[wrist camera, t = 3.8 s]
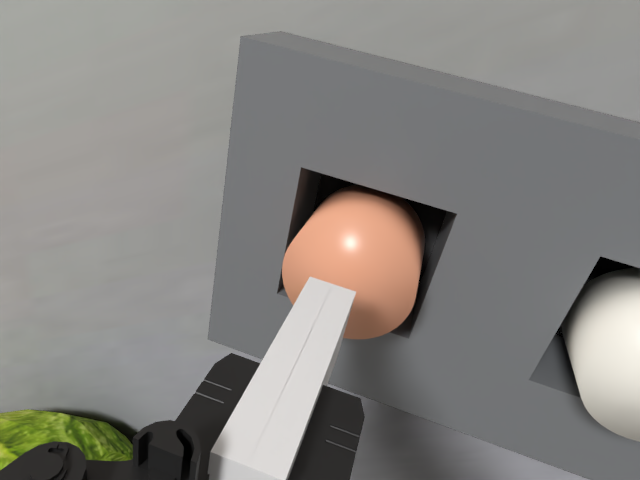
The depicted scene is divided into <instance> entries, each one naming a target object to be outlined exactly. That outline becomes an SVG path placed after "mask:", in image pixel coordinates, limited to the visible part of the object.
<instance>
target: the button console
mask: <svg viewBox="0 0 640 480" xmlns="http://www.w3.org/2000/svg"><path fill="white" fill-rule="evenodd" d="M321 173H322V174H325V175H329V176H332V177H335V178H339V179H342V180H345V181H349V182H352V183H356V184H359V185H362V186H366V187H369V188H372V189H376V190H379V191H382V192H386V193H389V194H393V195H396V196H399V197H403V198H406V199H409V200H413V201H416V202H419V203H423V204H426V205H429V206H433V207H436V208H440V209H443V210H446V211H447V213H446V215H445V218H444V221H443V223H442V226H441V229H440V231H439V234H438V237H437V239H436V242H435V245H434V248H433V250H432V253H431V256H430V258H429V261H428V264H427V266H426V269H425V272H424V274H423V277H422V280H421V283H420V285H419V288H418V290H417V294H416V299H415V302H414V305H413V308H412V310H411V312H410V313H409V315H408V316H407V318H406V319H405V320H404V321H403V322H402V323H401V324H400V325H399V326H398V327H397V328H395V329H394V330H392V331H390V332H389V333H386V334H384V335H382V336H378V337H375V338H370V339H347V338H343V339H342V342H341V346H340V349H339V353H338V356H337V359H336V362H335V365H334V367H333V370H332V373H331V376H330V378H329V381H328V384H331V385H334V386H336V387H339V388H342V389H345V390H347V391H350V392H353V393H355V394H358V395H361V396H364V397H366V398H369V399H372V400H375V401H377V402H380V403H383V404H385V405H388V406H391V407H394V408H396V409H399V410H402V411H405V412H407V413H410V414H413V415H415V416H418V417H421V418H424V419H426V420H429V421H432V422H435V423H437V424H440V425H443V426H445V427H448V428H451V429H454V430H456V431H459V432H462V433H464V434H467V435H470V436H473V437H475V438H478V439H481V440H484V441H486V442H489V443H492V444H494V445H497V446H500V447H503V448H505V449H508V450H511V451H514V452H516V453H519V454H522V455H524V456H527V457H530V458H533V459H535V460H538V461H541V462H543V463H546V464H549V465H552V466H554V467H557V468H560V469H563V470H565V471H568V472H571V473H573V474H576V475H579V476H582V477H584V478H587V479H590V480H640V442H639V441H635V440H632V439H628V438H625V437H623V436H620V435H618V434H616V433H614V432H612V431H610V430H608V429H607V428H605V427H604V426H602V425H601V424H600V423H598V422H597V421H596V420H595V419H594V418H593V417H592V416H591V415H590V414H589V412H588V411H587V409H586V408H585V406H584V404H583V401H582V399H581V396H580V392H579V389H578V385H577V382H576V379H575V375H574V372H573V368H572V365H571V361H570V358H569V355H568V351H567V348H566V344H565V341H564V337H561V336H557V335H555V334H556V332H557V330H558V328H559V327H560V325H561V323H562V321H563V320H564V318H565V316H566V315H567V313H568V311H569V309H570V308H571V306H572V304H573V303H574V301H575V299H576V297H577V296H578V294H579V292H580V290H581V289H582V287H583V285H584V284H585V282H586V280H587V278H588V277H589V275H590V273H591V271H592V270H593V268H594V266H595V265H596V263H597V261H598V259H599V258H600V256H601V257H604V258H608V259H611V260H614V261H618V262H621V263H624V264H628V265H631V266H634V267H638V268H640V123H639V122H635V121H631V120H628V119H624V118H620V117H616V116H612V115H608V114H604V113H600V112H596V111H592V110H588V109H584V108H580V107H576V106H572V105H568V104H564V103H561V102H557V101H553V100H549V99H545V98H541V97H537V96H533V95H529V94H525V93H521V92H517V91H513V90H509V89H505V88H501V87H497V86H493V85H490V84H486V83H482V82H478V81H474V80H470V79H466V78H462V77H458V76H454V75H450V74H446V73H442V72H438V71H434V70H430V69H426V68H423V67H419V66H415V65H411V64H407V63H403V62H399V61H395V60H391V59H387V58H383V57H379V56H375V55H371V54H367V53H363V52H359V51H356V50H352V49H348V48H344V47H340V46H336V45H332V44H328V43H324V42H320V41H316V40H312V39H308V38H304V37H300V36H296V35H292V34H289V33H285V32H281V31H280V32H272V33H264V34H255V35H247V36H241V39H240V48H239V57H238V66H237V75H236V85H235V94H234V103H233V112H232V121H231V130H230V140H229V149H228V158H227V167H226V176H225V185H224V195H223V204H222V213H221V222H220V231H219V240H218V250H217V259H216V268H215V277H214V286H213V295H212V305H211V314H210V323H209V332H208V340H211V341H214V342H217V343H219V344H222V345H225V346H227V347H230V348H233V349H236V350H238V351H241V352H244V353H247V354H249V355H252V356H255V357H257V358H260V359H263V358H264V356H265V355H266V353H267V351H268V349H269V348H270V346H271V344H272V342H273V341H274V339H275V337H276V335H277V333H278V332H279V330H280V328H281V326H282V325H283V323H284V321H285V319H286V318H287V316H288V314H289V312H290V311H291V309H292V307H293V304H292V303H291V301H290V299H289V297H288V295H287V293H286V291H285V287H284V284H283V278H282V265H283V259H284V256H285V253H286V251H287V249H288V247H289V245H290V244H291V242H292V241H293V239H294V238H295V237H296V235H297V234H298V233H299V231H300V230H301V229H302V227H303V226H304V225H305V223H306V222H307V221H308V219H309V218H310V217H311V216H312V214H313V210H314V205H315V201H316V196H317V191H318V187H319V182H320V177H321Z"/></svg>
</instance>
